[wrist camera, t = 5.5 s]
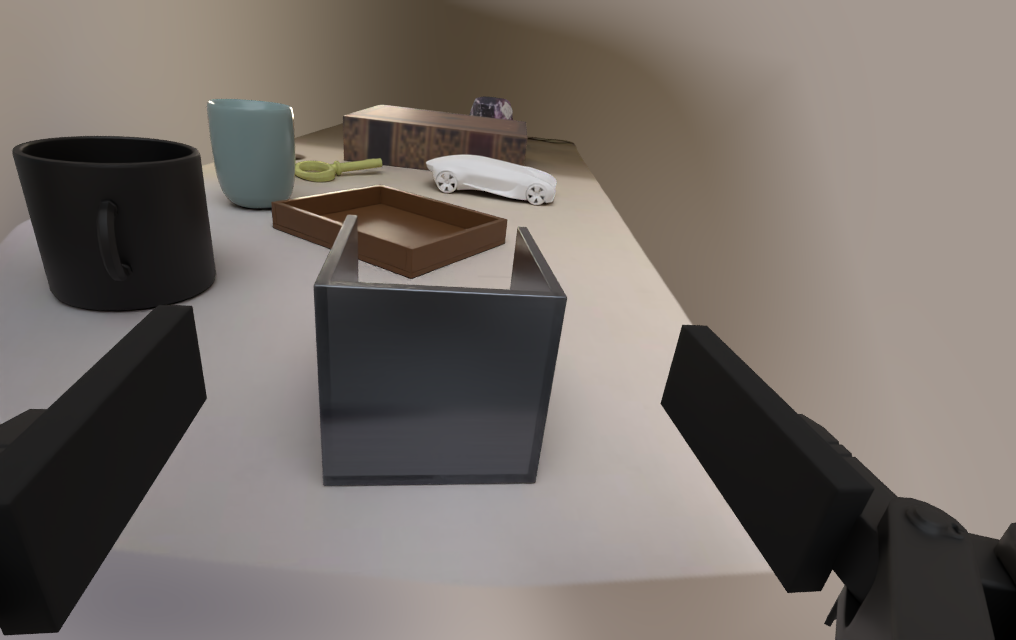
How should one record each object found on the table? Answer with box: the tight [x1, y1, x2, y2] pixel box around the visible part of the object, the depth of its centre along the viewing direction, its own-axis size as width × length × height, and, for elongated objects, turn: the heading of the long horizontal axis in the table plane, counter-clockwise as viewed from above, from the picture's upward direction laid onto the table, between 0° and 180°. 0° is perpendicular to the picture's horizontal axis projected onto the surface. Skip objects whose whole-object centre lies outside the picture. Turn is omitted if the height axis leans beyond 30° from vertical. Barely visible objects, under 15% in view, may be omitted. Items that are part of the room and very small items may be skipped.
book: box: [343, 105, 527, 170], centre depth 94 cm, size 24×28×6 cm
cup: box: [207, 99, 295, 209], centre depth 55 cm, size 8×8×10 cm
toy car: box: [426, 155, 557, 205], centre depth 74 cm, size 18×8×4 cm, turn 84°
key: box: [295, 158, 382, 182], centre depth 74 cm, size 7×12×2 cm, turn 146°
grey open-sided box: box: [314, 215, 567, 486], centre depth 25 cm, size 9×9×9 cm
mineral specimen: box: [470, 97, 513, 120], centre depth 120 cm, size 10×10×10 cm
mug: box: [13, 136, 216, 310], centre depth 34 cm, size 9×12×9 cm
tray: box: [271, 185, 507, 278], centre depth 52 cm, size 17×14×2 cm
